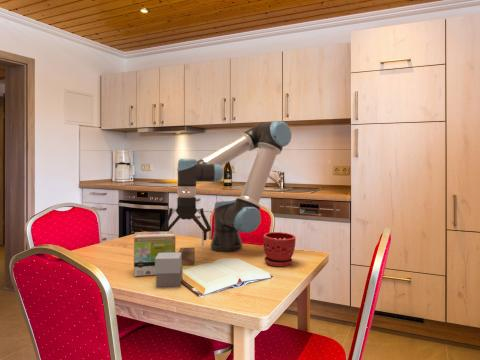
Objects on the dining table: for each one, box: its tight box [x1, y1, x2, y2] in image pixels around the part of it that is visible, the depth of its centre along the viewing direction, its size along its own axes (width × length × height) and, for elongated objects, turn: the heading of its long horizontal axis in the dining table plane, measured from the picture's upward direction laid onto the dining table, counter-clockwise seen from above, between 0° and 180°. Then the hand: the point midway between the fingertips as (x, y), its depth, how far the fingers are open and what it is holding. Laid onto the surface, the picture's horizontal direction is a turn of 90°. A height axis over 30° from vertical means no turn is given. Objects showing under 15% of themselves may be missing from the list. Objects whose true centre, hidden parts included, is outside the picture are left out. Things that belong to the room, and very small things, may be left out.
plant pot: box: [263, 231, 296, 267], centre depth 151 cm, size 13×13×12 cm
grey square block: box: [155, 251, 183, 274], centre depth 126 cm, size 8×8×5 cm
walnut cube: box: [178, 247, 196, 267], centre depth 151 cm, size 6×6×6 cm
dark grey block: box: [155, 266, 183, 289], centre depth 126 cm, size 8×8×5 cm
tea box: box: [133, 230, 177, 277], centre depth 139 cm, size 15×10×15 cm, turn 106°
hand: (185, 248), depth 150 cm, fingers open, 13 cm apart
